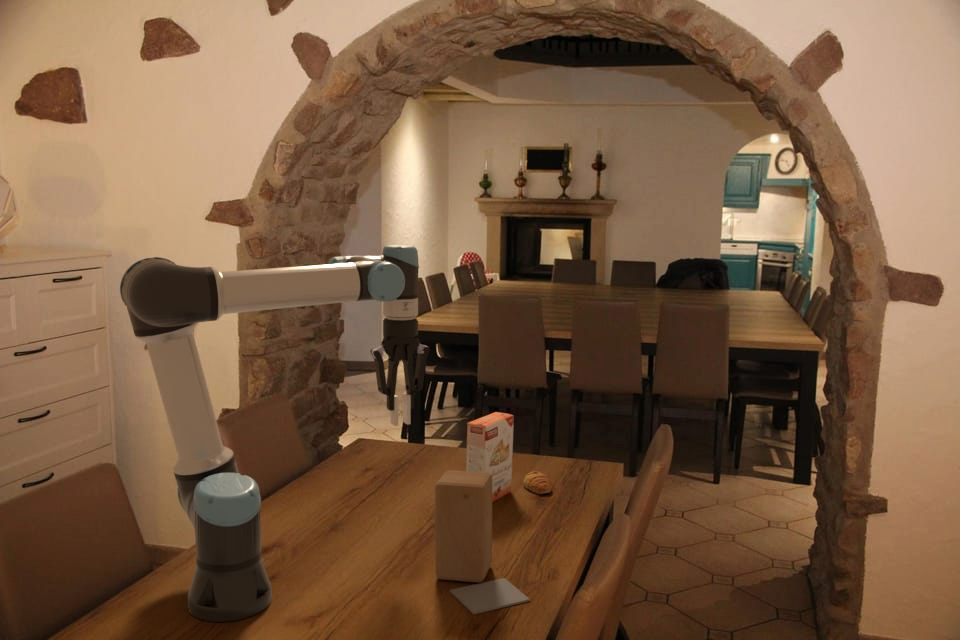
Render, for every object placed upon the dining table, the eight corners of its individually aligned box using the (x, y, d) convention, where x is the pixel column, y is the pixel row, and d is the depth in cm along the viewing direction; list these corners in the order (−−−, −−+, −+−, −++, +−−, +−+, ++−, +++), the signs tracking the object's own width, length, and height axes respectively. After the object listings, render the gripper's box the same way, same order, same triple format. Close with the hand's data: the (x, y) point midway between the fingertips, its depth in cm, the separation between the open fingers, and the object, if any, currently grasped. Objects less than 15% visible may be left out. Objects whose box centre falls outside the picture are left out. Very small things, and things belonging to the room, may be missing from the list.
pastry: (558, 494, 220) (558, 480, 219) (533, 497, 218) (534, 482, 217) (543, 482, 229) (544, 469, 228) (520, 485, 227) (520, 471, 226)
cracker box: (484, 508, 209) (486, 426, 206) (464, 503, 212) (465, 422, 209) (513, 492, 220) (515, 413, 217) (493, 487, 224) (494, 410, 220)
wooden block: (483, 584, 167) (483, 486, 165) (434, 580, 169) (433, 483, 167) (492, 564, 177) (493, 471, 175) (446, 560, 179) (445, 468, 177)
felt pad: (473, 614, 156) (473, 612, 156) (450, 591, 165) (450, 589, 165) (529, 601, 162) (529, 599, 162) (504, 579, 171) (504, 577, 171)
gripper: (373, 321, 176) (373, 432, 179) (440, 317, 183) (439, 424, 186) (361, 316, 182) (361, 423, 186) (426, 313, 189) (425, 415, 193)
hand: (400, 423), depth 186 cm, fingers open, 2 cm apart
